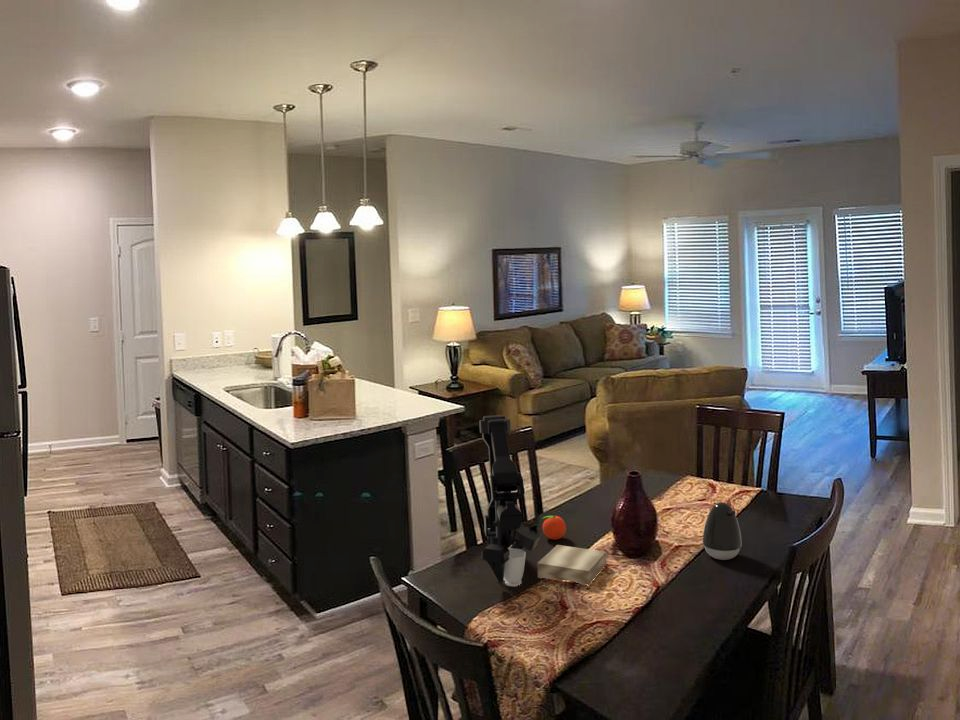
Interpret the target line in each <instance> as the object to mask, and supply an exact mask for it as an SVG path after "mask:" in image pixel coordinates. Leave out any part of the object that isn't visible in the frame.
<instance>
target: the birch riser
mask: <svg viewBox="0 0 960 720" xmlns="http://www.w3.org/2000/svg"><path fill="white" fill-rule="evenodd" d="M536 565H537V567H536V568H537V578H538V579H542V578H547V579H546V580H548V578H549V579H559V580H571V581H574V582H576V583H581V584H588V585H589V584H590V583H591V581H592V580H593V579H594V578H595V577H596V575H597V574H598V573H599V572H600V571H601V569H603V567H604V566H605V565H606V566H607V552H606V551H605V550H603V551H602V550H597V549H596V550H594V549H589V548H582V547H575V546H569V545H568V546H567V545H561V544H556V545H555V547H553V548H552V549H550V551H549V552H548V553H547V554H546V555H544V556H543V557H542V558H541V559H540V560H539V561H538V562H537V563H536ZM603 570H604V569H603ZM596 578H597V577H596ZM591 584H592V583H591ZM591 584H590V585H591Z"/></svg>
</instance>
